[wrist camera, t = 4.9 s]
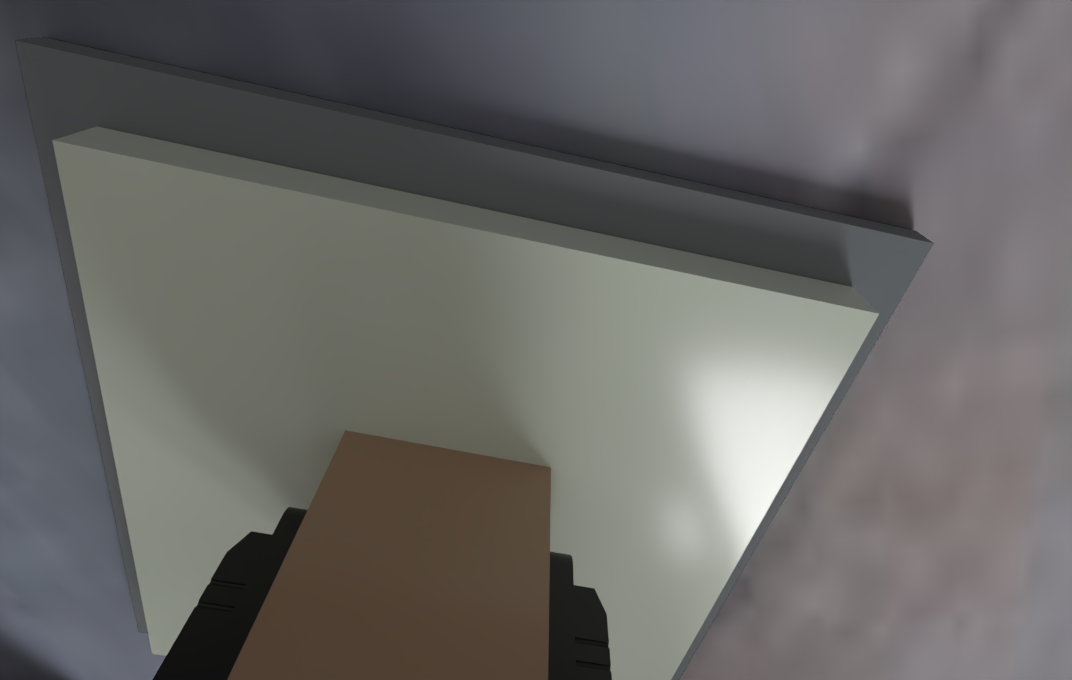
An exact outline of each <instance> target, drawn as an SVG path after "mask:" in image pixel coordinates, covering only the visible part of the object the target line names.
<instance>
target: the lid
mask: <svg viewBox="0 0 1072 680" xmlns="http://www.w3.org/2000/svg"><path fill="white" fill-rule="evenodd" d="M52 141H53V146H54V151H55V156H56V161H57V167H58V172H59V177H60V182H61V187H62V192H63V197H64V203H65V208H66V213H67V218H68V223H69V228H70V234H71V239H72V244H73V249H74V254H75V259H76V264H77V270H78V275H79V280H80V285H81V290H82V295H83V300H84V306H85V311H86V316H87V321H88V326H89V331H90V336H91V342H92V347H93V352H94V357H95V362H96V367H97V372H98V378H99V383H100V388H101V393H102V398H103V403H104V408H105V414H106V419H107V424H108V429H109V434H110V439H111V444H112V450H113V455H114V460H115V465H116V470H117V475H118V481H119V486H120V491H121V496H122V501H123V506H124V511H125V517H126V522H127V527H128V532H129V537H130V542H131V547H132V553H133V558H134V563H135V568H136V573H137V578H138V583H139V589H140V594H141V599H142V604H143V609H144V614H145V619H146V625H147V630H148V635H149V640H150V645H151V650H152V654H157V655H163V656H167V654H168V652H169V651H170V649H171V647H172V645H173V644H174V642H175V640H176V639H177V637H178V635H179V633H180V632H181V630H182V628H183V626H184V625H185V623H186V621H187V620H188V618H189V616H190V614H191V613H192V611H193V609H194V608H195V607H196V606H197V605H198V601H199V599H200V597H201V595H202V594H203V592H204V590H205V589H206V587H207V585H208V584H210V582H211V578H212V576H213V575H214V573H215V571H216V570H217V568H218V566H219V564H220V563H221V561H222V559H223V558H224V556H225V554H226V552H227V551H229V550H230V549H231V548H232V547H233V546H235V545H236V544H237V543H238V542H239V541H240V540H242V539H243V538H244V537H245V536H246V535H248V534H249V533H250V532H251V531H253V532H259V533H265V534H271V535H272V534H273V533H274V531H275V529H276V527H277V525H278V523H279V521H280V519H281V517H282V515H283V513H284V512H285V510H286V509H287V508H288V507H293V508H299V509H305V510H307V512H306V514H305V517H304V519H303V521H302V523H301V525H300V527H299V529H298V531H297V533H296V536H295V538H294V540H293V542H292V544H291V546H290V548H289V550H288V552H287V555H286V557H285V559H284V561H283V563H282V565H281V567H280V569H279V571H278V574H277V576H276V578H275V580H274V582H273V584H272V586H271V588H270V590H269V593H268V595H267V597H266V599H265V601H264V603H263V605H262V607H261V609H260V612H259V614H258V616H257V618H256V620H255V622H254V624H253V626H252V628H251V630H250V633H249V635H248V637H247V639H246V641H245V643H244V645H243V647H242V649H241V652H240V654H239V656H238V658H237V660H236V662H235V664H234V666H233V668H232V671H231V673H230V675H229V677H228V679H227V680H548V657H549V581H550V551H551V552H557V553H562V554H568V555H571V556H572V559H573V580H574V585H576V586H583V587H589V588H594V589H595V591H596V593H597V595H598V597H599V599H600V601H601V603H602V605H603V607H604V610H605V612H606V614H607V623H608V636H609V645H608V647H609V649H610V662H611V667H610V671H611V674H612V680H671V679H672V677H673V675H674V674H675V672H676V670H677V668H678V667H679V665H680V663H681V661H682V660H683V658H684V656H685V654H686V653H687V651H688V649H689V647H690V646H691V644H692V642H693V640H694V639H695V637H696V635H697V633H698V632H699V630H700V628H701V626H702V625H703V623H704V621H705V619H706V617H707V616H708V614H709V612H710V610H711V609H712V607H713V605H714V603H715V602H716V600H717V598H718V596H719V595H720V593H721V591H722V589H723V588H724V586H725V584H726V582H727V581H728V579H729V577H730V575H731V574H732V572H733V570H734V568H735V567H736V565H737V563H738V561H739V560H740V558H741V556H742V554H743V552H744V551H745V549H746V547H747V545H748V544H749V542H750V540H751V538H752V537H753V535H754V533H755V531H756V530H757V528H758V526H759V524H760V523H761V521H762V519H763V517H764V516H765V514H766V512H767V510H768V509H769V507H770V505H771V503H772V502H773V500H774V498H775V496H776V494H777V493H778V491H779V489H780V487H781V486H782V484H783V482H784V480H785V479H786V477H787V475H788V473H789V472H790V470H791V468H792V466H793V465H794V463H795V461H796V459H797V458H798V456H799V454H800V452H801V451H802V449H803V447H804V445H805V444H806V442H807V440H808V438H809V437H810V435H811V433H812V431H813V429H814V428H815V426H816V424H817V422H818V421H819V419H820V417H821V415H822V414H823V412H824V410H825V408H826V407H827V405H828V403H829V401H830V400H831V398H832V396H833V394H834V393H835V391H836V389H837V387H838V386H839V384H840V382H841V380H842V379H843V377H844V375H845V373H846V372H847V370H848V368H849V366H850V364H851V363H852V361H853V359H854V357H855V356H856V354H857V352H858V350H859V349H860V347H861V345H862V343H863V342H864V340H865V338H866V336H867V335H868V333H869V331H870V329H871V328H872V326H873V324H874V322H875V321H876V319H877V317H878V315H879V313H878V312H877V311H876V310H875V309H874V308H873V307H872V306H871V305H870V304H869V303H868V302H867V301H866V300H865V299H864V297H863V296H862V295H861V294H860V293H859V292H858V291H857V290H856V289H855V288H854V287H850V286H845V285H840V284H836V283H831V282H826V281H821V280H817V279H812V278H807V277H803V276H798V275H793V274H789V273H784V272H779V271H774V270H770V269H765V268H760V267H756V266H751V265H746V264H741V263H737V262H732V261H727V260H723V259H718V258H713V257H709V256H704V255H699V254H694V253H690V252H685V251H680V250H676V249H671V248H666V247H662V246H657V245H652V244H647V243H643V242H638V241H633V240H629V239H624V238H619V237H615V236H610V235H605V234H600V233H596V232H591V231H586V230H582V229H577V228H572V227H567V226H563V225H558V224H553V223H549V222H544V221H539V220H535V219H530V218H525V217H520V216H516V215H511V214H506V213H502V212H497V211H492V210H488V209H483V208H478V207H473V206H469V205H464V204H459V203H455V202H450V201H445V200H441V199H436V198H431V197H426V196H422V195H417V194H412V193H408V192H403V191H398V190H394V189H389V188H384V187H379V186H375V185H370V184H365V183H361V182H356V181H351V180H346V179H342V178H337V177H332V176H328V175H323V174H318V173H314V172H309V171H304V170H299V169H295V168H290V167H285V166H281V165H276V164H271V163H267V162H262V161H257V160H252V159H248V158H243V157H238V156H234V155H229V154H224V153H220V152H215V151H210V150H205V149H201V148H196V147H191V146H187V145H182V144H177V143H172V142H168V141H163V140H158V139H154V138H149V137H144V136H140V135H135V134H130V133H125V132H121V131H116V130H111V129H107V128H102V127H94V128H90V129H87V130H84V131H81V132H78V133H74V134H71V135H68V136H65V137H61V138H58V139H55V140H52Z"/></svg>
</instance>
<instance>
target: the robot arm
mask: <svg viewBox="0 0 1072 680" xmlns="http://www.w3.org/2000/svg"><path fill="white" fill-rule="evenodd" d="M306 512H307V510H305V509H299V508H293V507H288V508H287V509H286V510H285V512H284V513H283V515H282V517H281V519H280V521H279V523H278V525H277V527H276V529H275V531H274V533H273V534H272V535H271V534H265V533H259V532H253V531H251V532H250V533H249V534H248V535H246V536H245V537H244V538H243V539H242V540H240V541H239V542H238V543H237V544H236V545H235V546H233V547H232V548H231V549H230V550H229V551H227V552H226V554H225V556H224V558H223V559H222V561H221V563H220V564H219V566H218V568H217V570H216V571H215V573H214V575H213V576H212V578H211V582H210V584H208V585H207V587H206V589H205V590H204V592H203V594H202V595H201V597H200V599H199V601H198V605H197V606H196V607H195V608H194V609H193V611H192V613H191V614H190V616H189V618H188V620H187V621H186V623H185V625H184V626H183V628H182V630H181V632H180V633H179V635H178V637H177V639H176V640H175V642H174V644H173V645H172V647H171V649H170V651H169V652H168V654H167V656H166V658H165V659H164V661H163V663H162V664H161V666H160V668H159V670H158V671H157V673H156V675H155V676H154V678H153V680H227V679H228V677H229V675H230V673H231V671H232V668H233V666H234V664H235V662H236V660H237V658H238V656H239V654H240V652H241V649H242V647H243V645H244V643H245V641H246V639H247V637H248V635H249V633H250V630H251V628H252V626H253V624H254V622H255V620H256V618H257V616H258V614H259V612H260V609H261V607H262V605H263V603H264V601H265V599H266V597H267V595H268V593H269V590H270V588H271V586H272V584H273V582H274V580H275V578H276V576H277V574H278V571H279V569H280V567H281V565H282V563H283V561H284V559H285V557H286V555H287V552H288V550H289V548H290V546H291V544H292V542H293V540H294V538H295V536H296V533H297V531H298V529H299V527H300V525H301V523H302V521H303V519H304V517H305V514H306ZM608 645H609V636H608V623H607V614H606V612H605V610H604V607H603V605H602V603H601V601H600V599H599V597H598V595H597V593H596V591H595V589H594V588H589V587H583V586H576V585H574V580H573V559H572V556H571V555H568V554H562V553H557V552H551V551H550V581H549V657H548V680H612V674H611V671H610V667H611V662H610V649H609V647H608Z"/></svg>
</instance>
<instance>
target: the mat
mask: <svg viewBox="0 0 1072 680" xmlns="http://www.w3.org/2000/svg"><path fill="white" fill-rule="evenodd" d="M15 44H16V48H17V53H18V58H19V63H20V67H21V72H22V77H23V82H24V87H25V91H26V96H27V101H28V106H29V110H30V115H31V120H32V125H33V130H34V134H35V139H36V144H37V149H38V154H39V158H40V163H41V168H42V173H43V177H44V182H45V187H46V192H47V197H48V201H49V206H50V211H51V216H52V220H53V225H54V230H55V235H56V240H57V244H58V249H59V254H60V259H61V263H62V268H63V273H64V278H65V283H66V287H67V292H68V297H69V302H70V306H71V311H72V316H73V321H74V326H75V330H76V335H77V340H78V345H79V349H80V354H81V359H82V364H83V369H84V373H85V378H86V383H87V388H88V393H89V397H90V402H91V407H92V412H93V416H94V421H95V426H96V431H97V436H98V440H99V445H100V450H101V455H102V459H103V464H104V469H105V474H106V479H107V483H108V488H109V493H110V498H111V502H112V507H113V512H114V517H115V522H116V526H117V531H118V536H119V541H120V545H121V550H122V555H123V560H124V565H125V569H126V574H127V579H128V584H129V588H130V593H131V598H132V603H133V608H134V612H135V617H136V622H137V627H138V631H139V632H141V633H148V630H147V625H146V619H145V614H144V609H143V604H142V599H141V594H140V589H139V583H138V578H137V573H136V568H135V563H134V558H133V553H132V547H131V542H130V537H129V532H128V527H127V522H126V517H125V511H124V506H123V501H122V496H121V491H120V486H119V481H118V475H117V470H116V465H115V460H114V455H113V450H112V444H111V439H110V434H109V429H108V424H107V419H106V414H105V408H104V403H103V398H102V393H101V388H100V383H99V378H98V372H97V367H96V362H95V357H94V352H93V347H92V342H91V336H90V331H89V326H88V321H87V316H86V311H85V306H84V300H83V295H82V290H81V285H80V280H79V275H78V270H77V264H76V259H75V254H74V249H73V244H72V239H71V234H70V228H69V223H68V218H67V213H66V208H65V203H64V197H63V192H62V187H61V182H60V177H59V172H58V167H57V161H56V156H55V151H54V146H53V141H52V140H55V139H58V138H61V137H65V136H68V135H71V134H74V133H78V132H81V131H84V130H87V129H90V128H94V127H102V128H107V129H111V130H116V131H121V132H125V133H130V134H135V135H140V136H144V137H149V138H154V139H158V140H163V141H168V142H172V143H177V144H182V145H187V146H191V147H196V148H201V149H205V150H210V151H215V152H220V153H224V154H229V155H234V156H238V157H243V158H248V159H252V160H257V161H262V162H267V163H271V164H276V165H281V166H285V167H290V168H295V169H299V170H304V171H309V172H314V173H318V174H323V175H328V176H332V177H337V178H342V179H346V180H351V181H356V182H361V183H365V184H370V185H375V186H379V187H384V188H389V189H394V190H398V191H403V192H408V193H412V194H417V195H422V196H426V197H431V198H436V199H441V200H445V201H450V202H455V203H459V204H464V205H469V206H473V207H478V208H483V209H488V210H492V211H497V212H502V213H506V214H511V215H516V216H520V217H525V218H530V219H535V220H539V221H544V222H549V223H553V224H558V225H563V226H567V227H572V228H577V229H582V230H586V231H591V232H596V233H600V234H605V235H610V236H615V237H619V238H624V239H629V240H633V241H638V242H643V243H647V244H652V245H657V246H662V247H666V248H671V249H676V250H680V251H685V252H690V253H694V254H699V255H704V256H709V257H713V258H718V259H723V260H727V261H732V262H737V263H741V264H746V265H751V266H756V267H760V268H765V269H770V270H774V271H779V272H784V273H789V274H793V275H798V276H803V277H807V278H812V279H817V280H821V281H826V282H831V283H836V284H840V285H845V286H850V287H854V288H855V289H856V290H857V291H858V292H859V293H860V294H861V295H862V296H863V297H864V299H865V300H866V301H867V302H868V303H869V304H870V305H871V306H872V307H873V308H874V309H875V310H876V311H877V312H878V313H879V315H878V317H877V319H876V321H875V322H874V324H873V326H872V328H871V329H870V331H869V333H868V335H867V336H866V338H865V340H864V342H863V343H862V345H861V347H860V349H859V350H858V352H857V354H856V356H855V357H854V359H853V361H852V363H851V364H850V366H849V368H848V370H847V372H846V373H845V375H844V377H843V379H842V380H841V382H840V384H839V386H838V387H837V389H836V391H835V393H834V394H833V396H832V398H831V400H830V401H829V403H828V405H827V407H826V408H825V410H824V412H823V414H822V415H821V417H820V419H819V421H818V422H817V424H816V426H815V428H814V429H813V431H812V433H811V435H810V437H809V438H808V440H807V442H806V444H805V445H804V447H803V449H802V451H801V452H800V454H799V456H798V458H797V459H796V461H795V463H794V465H793V466H792V468H791V470H790V472H789V473H788V475H787V477H786V479H785V480H784V482H783V484H782V486H781V487H780V489H779V491H778V493H777V494H776V496H775V498H774V500H773V502H772V503H771V505H770V507H769V509H768V510H767V512H766V514H765V516H764V517H763V519H762V521H761V523H760V524H759V526H758V528H757V530H756V531H755V533H754V535H753V537H752V538H751V540H750V542H749V544H748V545H747V547H746V549H745V551H744V552H743V554H742V556H741V558H740V560H739V561H738V563H737V565H736V567H735V568H734V570H733V572H732V574H731V575H730V577H729V579H728V581H727V582H726V584H725V586H724V588H723V589H722V591H721V593H720V595H719V596H718V598H717V600H716V602H715V603H714V605H713V607H712V609H711V610H710V612H709V614H708V616H707V617H706V619H705V621H704V623H703V625H702V626H701V628H700V630H699V632H698V633H697V635H696V637H695V639H694V640H693V642H692V644H691V646H690V647H689V649H688V651H687V653H686V654H685V656H684V658H683V660H682V661H681V663H680V665H679V667H678V668H677V670H676V672H675V674H674V675H673V677H672V679H671V680H679V679H680V677H681V676H682V674H683V672H684V670H685V669H686V667H687V665H688V664H689V662H690V660H691V658H692V657H693V655H694V653H695V652H696V650H697V648H698V646H699V645H700V643H701V641H702V640H703V638H704V636H705V634H706V633H707V631H708V629H709V628H710V626H711V624H712V622H713V621H714V619H715V617H716V616H717V614H718V612H719V610H720V609H721V607H722V605H723V604H724V602H725V600H726V598H727V597H728V595H729V593H730V592H731V590H732V588H733V586H734V585H735V583H736V581H737V580H738V578H739V576H740V574H741V573H742V571H743V569H744V568H745V566H746V564H747V562H748V561H749V559H750V557H751V556H752V554H753V552H754V550H755V549H756V547H757V545H758V543H759V542H760V540H761V538H762V537H763V535H764V533H765V531H766V530H767V528H768V526H769V525H770V523H771V521H772V519H773V518H774V516H775V514H776V513H777V511H778V509H779V507H780V506H781V504H782V502H783V501H784V499H785V497H786V495H787V494H788V492H789V490H790V489H791V487H792V485H793V483H794V482H795V480H796V478H797V477H798V475H799V473H800V471H801V470H802V468H803V466H804V465H805V463H806V461H807V459H808V458H809V456H810V454H811V453H812V451H813V449H814V447H815V446H816V444H817V442H818V441H819V439H820V437H821V435H822V434H823V432H824V430H825V429H826V427H827V425H828V423H829V422H830V420H831V418H832V417H833V415H834V413H835V411H836V410H837V408H838V406H839V405H840V403H841V401H842V399H843V398H844V396H845V394H846V393H847V391H848V389H849V387H850V386H851V384H852V382H853V381H854V379H855V377H856V375H857V374H858V372H859V370H860V369H861V367H862V365H863V363H864V362H865V360H866V358H867V357H868V355H869V353H870V351H871V350H872V348H873V346H874V345H875V343H876V341H877V339H878V338H879V336H880V334H881V333H882V331H883V329H884V327H885V326H886V324H887V322H888V321H889V319H890V317H891V315H892V314H893V312H894V310H895V309H896V307H897V305H898V303H899V302H900V300H901V298H902V297H903V295H904V293H905V291H906V290H907V288H908V286H909V285H910V283H911V281H912V279H913V278H914V276H915V274H916V273H917V271H918V269H919V267H920V266H921V264H922V262H923V261H924V259H925V257H926V255H927V254H928V252H929V250H930V249H931V247H932V245H933V243H932V242H931V241H930V240H928V239H927V238H925V237H924V236H922V235H921V234H919V233H918V232H917V231H914V230H909V229H905V228H900V227H896V226H891V225H887V224H882V223H878V222H873V221H869V220H864V219H860V218H855V217H851V216H846V215H842V214H837V213H833V212H828V211H824V210H819V209H815V208H810V207H806V206H801V205H797V204H792V203H788V202H783V201H779V200H774V199H770V198H765V197H761V196H756V195H752V194H747V193H743V192H738V191H734V190H729V189H725V188H720V187H716V186H711V185H707V184H702V183H698V182H693V181H689V180H684V179H680V178H675V177H671V176H666V175H662V174H657V173H653V172H648V171H644V170H639V169H635V168H630V167H626V166H621V165H617V164H612V163H608V162H603V161H599V160H594V159H590V158H585V157H581V156H576V155H572V154H567V153H563V152H558V151H554V150H549V149H545V148H540V147H536V146H531V145H527V144H522V143H518V142H513V141H509V140H504V139H500V138H495V137H491V136H486V135H482V134H477V133H473V132H468V131H464V130H459V129H455V128H450V127H446V126H441V125H437V124H432V123H428V122H423V121H419V120H414V119H410V118H405V117H401V116H396V115H392V114H387V113H383V112H378V111H374V110H369V109H365V108H360V107H356V106H351V105H347V104H342V103H338V102H333V101H329V100H324V99H320V98H315V97H311V96H306V95H302V94H297V93H293V92H288V91H284V90H279V89H275V88H270V87H266V86H261V85H257V84H252V83H248V82H243V81H239V80H234V79H230V78H225V77H221V76H216V75H212V74H207V73H203V72H198V71H194V70H189V69H185V68H180V67H176V66H171V65H167V64H162V63H158V62H153V61H149V60H144V59H140V58H135V57H131V56H126V55H122V54H117V53H113V52H108V51H104V50H99V49H95V48H90V47H86V46H81V45H77V44H72V43H68V42H63V41H59V40H54V39H50V38H45V37H41V38H31V39H22V40H15Z"/></svg>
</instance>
